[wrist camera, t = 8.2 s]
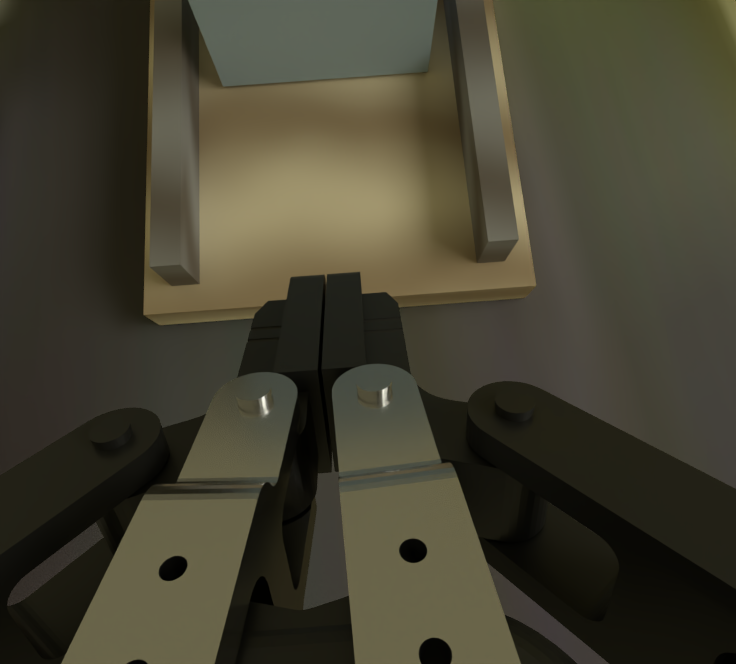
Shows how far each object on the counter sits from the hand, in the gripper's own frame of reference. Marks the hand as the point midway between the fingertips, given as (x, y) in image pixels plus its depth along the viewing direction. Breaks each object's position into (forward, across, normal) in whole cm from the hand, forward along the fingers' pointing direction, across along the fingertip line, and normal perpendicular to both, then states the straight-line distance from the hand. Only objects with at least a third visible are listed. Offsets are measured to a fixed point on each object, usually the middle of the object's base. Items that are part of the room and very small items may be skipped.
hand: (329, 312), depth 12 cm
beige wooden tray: (+17, 0, -5) cm, 18 cm away
